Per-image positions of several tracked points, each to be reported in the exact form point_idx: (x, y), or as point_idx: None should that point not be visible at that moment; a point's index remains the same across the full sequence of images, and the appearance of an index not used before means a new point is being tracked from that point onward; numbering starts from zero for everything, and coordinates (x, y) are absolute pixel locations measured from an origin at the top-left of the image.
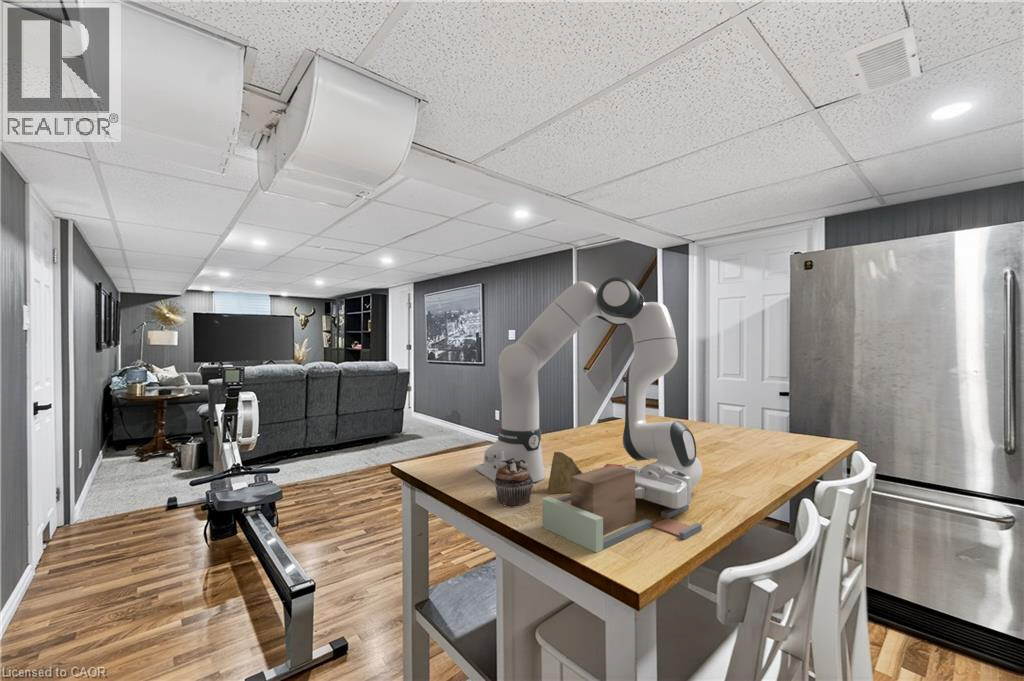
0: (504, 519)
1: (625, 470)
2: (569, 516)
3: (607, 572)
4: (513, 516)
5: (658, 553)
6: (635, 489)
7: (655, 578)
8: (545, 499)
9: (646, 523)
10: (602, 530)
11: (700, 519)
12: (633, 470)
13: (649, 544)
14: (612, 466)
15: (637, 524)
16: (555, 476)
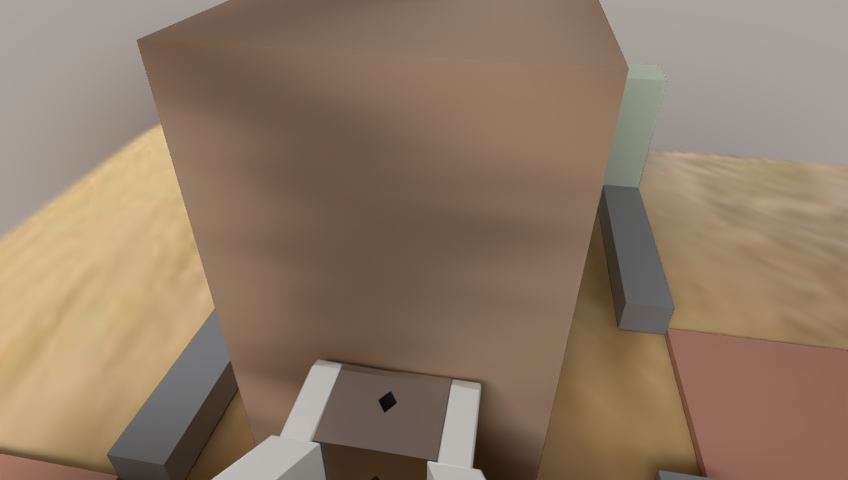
0: (783, 170)
1: (285, 15)
2: None
3: None
4: (803, 194)
5: (103, 244)
6: (246, 462)
7: (126, 152)
8: (640, 65)
9: (154, 390)
10: None
11: None
12: (165, 35)
13: (145, 281)
14: (541, 33)
15: (219, 344)
16: None
